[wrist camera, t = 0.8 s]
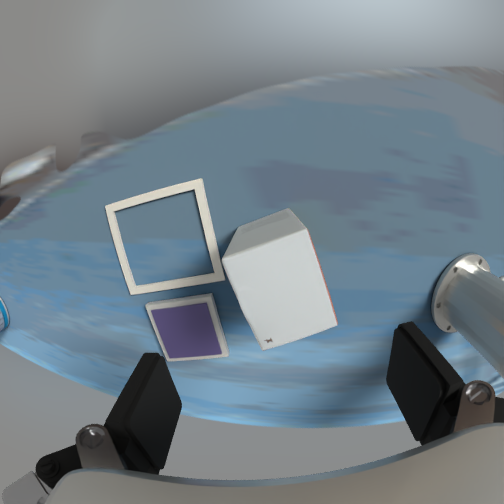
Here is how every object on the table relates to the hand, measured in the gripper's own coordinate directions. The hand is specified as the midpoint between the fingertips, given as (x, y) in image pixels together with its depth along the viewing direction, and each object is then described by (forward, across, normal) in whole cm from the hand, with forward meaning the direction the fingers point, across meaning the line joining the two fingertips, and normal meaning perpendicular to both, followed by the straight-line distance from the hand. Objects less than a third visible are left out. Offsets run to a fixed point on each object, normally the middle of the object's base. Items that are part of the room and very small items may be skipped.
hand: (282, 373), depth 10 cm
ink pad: (+22, +12, +10) cm, 27 cm away
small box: (+22, -1, +1) cm, 22 cm away
